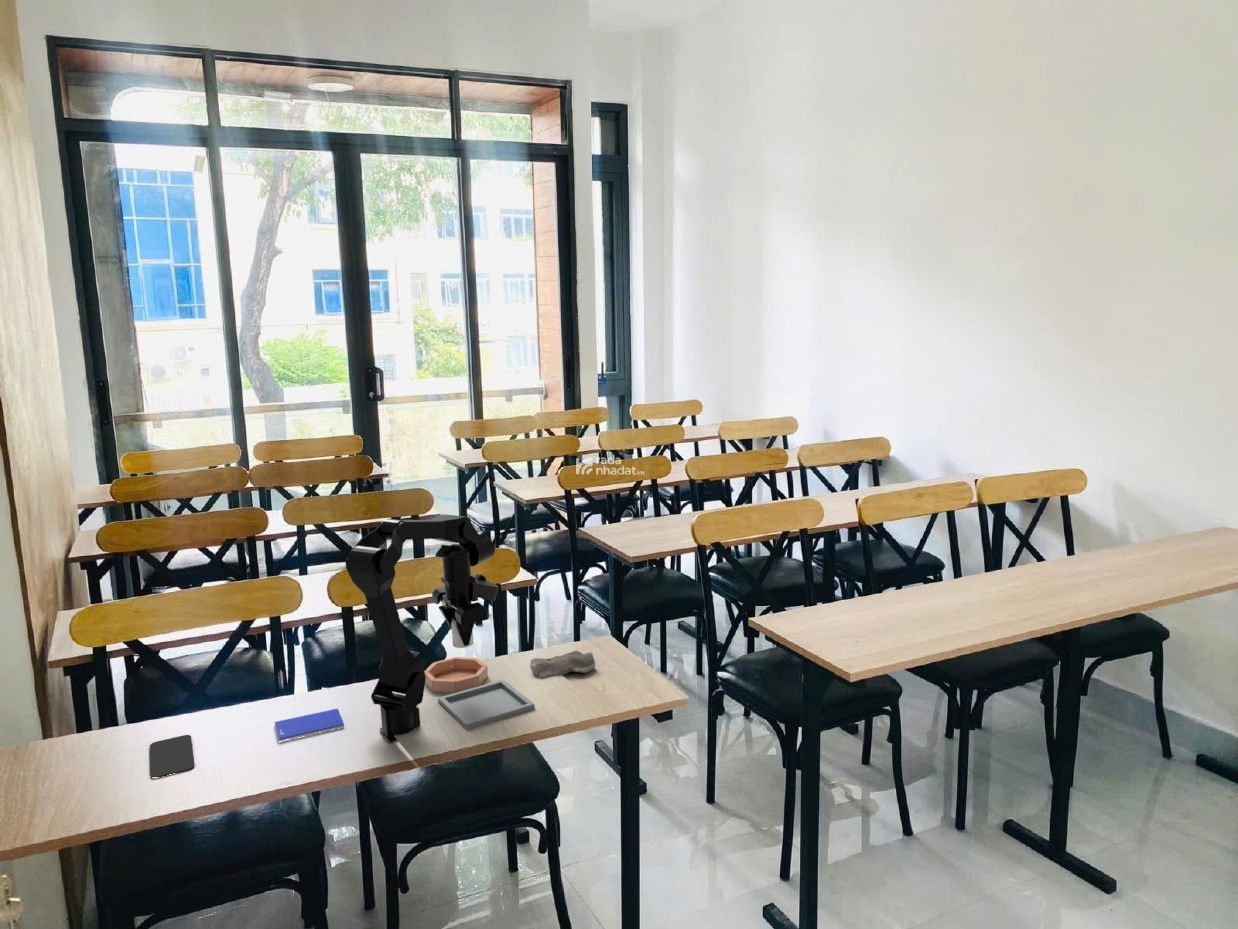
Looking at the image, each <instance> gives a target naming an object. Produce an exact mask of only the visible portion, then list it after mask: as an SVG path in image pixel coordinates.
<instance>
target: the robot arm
mask: <svg viewBox="0 0 1238 929" xmlns="http://www.w3.org/2000/svg"><path fill="white" fill-rule="evenodd" d="M407 540H410V541H411V540H435V541H439V542H447V543H454V544H450V545H448V544H441V545H440V547H439V549H438V550H437V551H436V553H435V557H436V558H442V568H443V569H442V570H443V576H441V577H440V581H441V583H443V584H444V586H442V587H438V588H434V590H433V592H432V593H431V596H432V602H433V604H436V605H439V606H438V609H439V611H440V612H441V615H442V616H443V618H444V620H445V621H446V622H447V625H448V626H449V629H450V630H451V631H452V627H451V622H452V621H453V623H454V625H455V627H456V629H457V631H458V634H459V636H460V638H461V640H462V642H463V644H464V646H466V645H469V643H470V639H471V635H472V630H474V627H475V623H478V622H482V621H487V620H489V619H490V612H489V611H490V610H489V609H488V608H487V607H486V606H484V605H483V604H482V603H480V602H479V599H485V600H489V601H492V602H494V601H496V598H497V595H498V590H499V586H498V585H497V584H496V583H494V582H491V581H490V580H487V578H486V576H485V575H484V574H480V573H476V574H475V576H473V575H472V571H471V570H472V569H471V567H475V566H477V565H480V564H481V563H484V562H485V561H488V560H490V559H492V558H493V557H494V556H495V554H496V553H495V552H496V546H495V544H494V542H493V541H492V539H491V538H490V537H489V536H487V530H480V529H479V530H477V529H476V527H475V526H474V524H473V523H472V521H471V518H470V517H468V516H465V515H453V514H446V513H445V514H444V513H443V514H439V515H436V516H434V517H432V518H431V519H392V518H387V519H384V520H382V521H380V523H379V524H378V525H377V527H376V528H375V529H374V530H372V531H371V532H369V533H367V534H366V535H365V536H363V537H362V538H360V539H359V540H358V541H357V543H355V545H354V547H352V549H351V550H350V551H349V553H348V555H347V556H346V559H345V569H346V572H347V573H348V575H349V577H350V579H351V581H352V583H353V584H354V585H355V587H357V588H358V589H359V590H360V592H361V593H363V594H364V596H365V599H366V600H365V601H366V603H367V606H368V610H369V614H370V616H371V620H372V624H373V627H374V629H375V633H376V637H377V641H378V644H379V646H380V647H379V648H380V650H381V654H382V658H381V662H380V665H379V667H378V671H379V678H378V680H377V683H376V684H375V686H374V689H373V691H372V693H371V695H370V698H371V701H372V703H373V704H374V705H379V706H380V715H381V716H380V719H381V727H380V728H379V732H380V733H381V735H382V736H383V737H384V738H385V739H386V740H387V742H388V743H395V742H397V741H399V740H398V738H397V737H396V736H402V735H405V734H408V733H410V732H412V731H413V730H414V729H417V728H419V727H420V726H421V718H420V717H421V715H420V708H419V705H420V704H422V703H423V699H424V693H425V686H426V685H425V680H426V676H425V672H424V671H426V669H427V668H426V666H425V664H424V657H423V655H422V653H421V652H418V651H413V650H410V649H409V646H408V642H407V640H406V636H405V633H404V629H403V625H402V621H401V618H400V615H399V611H398V607H397V604H396V600H395V597H394V593H393V589H392V586H393V582H394V581H395V580H394V579H395V577H396V569H395V568H396V567H395V566H396V565H397V563H398V562H399V561H400V560H401V558H402V555H403V547H404V543H405V542H406V541H407ZM387 541H391V542H390V544H389V546H388V547H387V549H386V548H381V546H382V545H384V544H385V543H386V542H387ZM471 602H473V603H471ZM440 603H441V605H440Z"/></svg>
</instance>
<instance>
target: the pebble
mask: <svg viewBox="0 0 1238 929" xmlns="http://www.w3.org/2000/svg"><path fill="white" fill-rule="evenodd" d="M451 627H452V630H451V638H452V646H453V647H454V648H457V649H465V648H468V647H470V646H472V645H474V632H473V630H474V629H473V630H472V635H471V639H470V643H469V645H466V646H464V644H463V642H462V640H461V638H460V636H459V634H458V631H457V629H456V627H455V625H454V623H453V621H452V622H451Z"/></svg>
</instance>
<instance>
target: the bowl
mask: <svg viewBox="0 0 1238 929" xmlns="http://www.w3.org/2000/svg"><path fill="white" fill-rule="evenodd" d="M451 666H452V667H451ZM424 672H425V676H426V680H425V686H426V687H427V688H428V689H429V690H430V691H432V693H433V692H434V693H435V692H436V693H437V692H438V693H447V694H449V693H450V694H453V693H456V692H460V691H464V690H467V689H471V688H474V687H478V686H482V685H483V683H484V682H485V680H486V679H488V677H489V675H488V674H489V673H488V664H486V663H484V662H483V661H482V660H480V658H478V657H464V656H463V657H462V656H461V657H460V656H455V657H454V656H453V657H451V658H446V659H442V660H438V661H434V662H432V663H431V664H430V665H429V666H428V667H427V668H426V671H424Z"/></svg>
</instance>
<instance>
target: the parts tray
mask: <svg viewBox="0 0 1238 929" xmlns="http://www.w3.org/2000/svg"><path fill="white" fill-rule="evenodd" d="M437 701H438V704H440V705H441V706H442V707H443V708H444V710H446V711H447V712H448V713H449V714H450V715H451V716H452V717H453V718H454V719H455V720H456V721H457V722H458V723H459V724H460V725H461V726H462V727H463V728H464V729H465V730H470V729H473V728H476V727H479V726H483V725H487V724H490V723H493V722H496V721H500V720H502V719H506V718H509V717H512V716H515V715H519V714H522V713H526V712H529V711H532V710H535V709H536V706H535V703H534V702H533V701H531V700H530V699H529V698H527V697H526V696H525V695H524V694H522V693H521V692H520V691H519V690H517V689H516V688H515V687H513V685H511V684H509V682H507V681H506V680H504V679H501V680H496V681H492V682H489V683H486V684H481V685H480V686H478V687H474V688H471V689H467V690H464V691H460V692H456V693H450V694H449V693H448V694H447V695H442V696H439V697H438V698H437Z"/></svg>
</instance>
